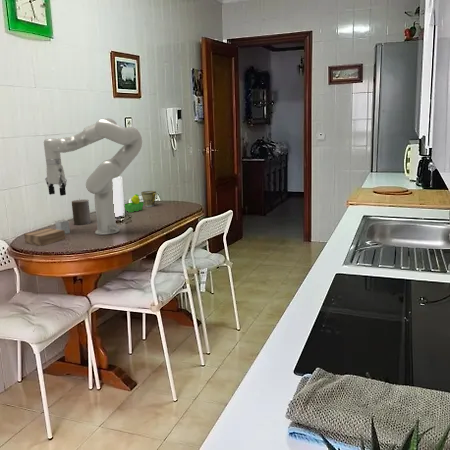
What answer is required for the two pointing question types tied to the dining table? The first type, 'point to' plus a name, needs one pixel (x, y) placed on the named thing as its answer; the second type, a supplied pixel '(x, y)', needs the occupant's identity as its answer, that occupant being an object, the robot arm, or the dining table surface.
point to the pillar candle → (81, 212)
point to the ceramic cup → (149, 198)
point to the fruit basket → (134, 204)
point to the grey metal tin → (63, 225)
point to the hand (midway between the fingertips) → (57, 194)
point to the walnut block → (44, 236)
